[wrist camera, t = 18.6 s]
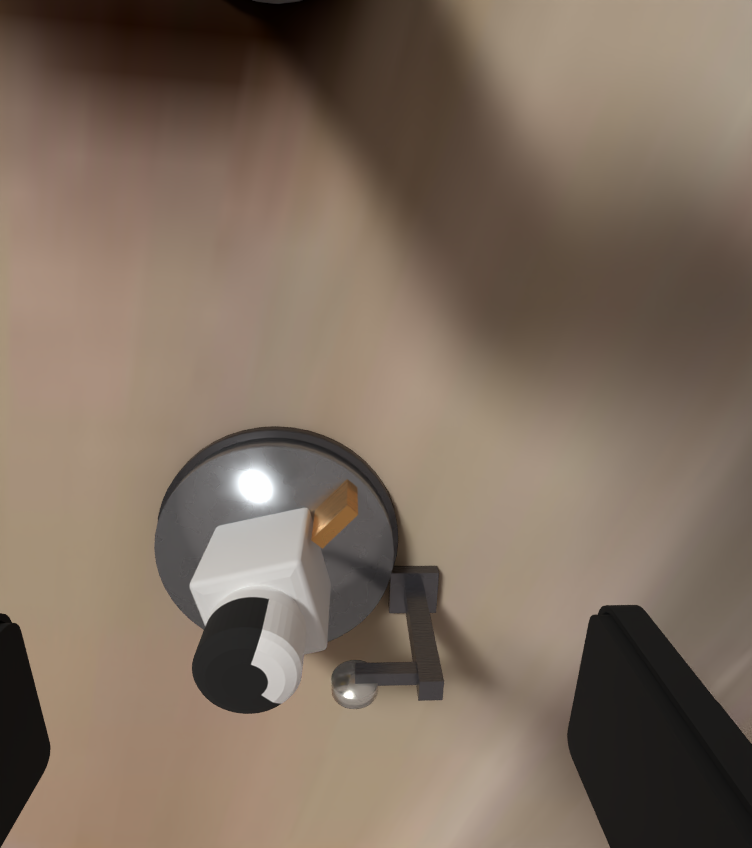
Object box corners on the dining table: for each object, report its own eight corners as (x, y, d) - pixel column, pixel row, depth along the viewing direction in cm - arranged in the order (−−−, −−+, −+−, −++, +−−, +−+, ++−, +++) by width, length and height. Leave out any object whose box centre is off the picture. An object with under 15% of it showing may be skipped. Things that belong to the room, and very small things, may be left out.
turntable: (291, 667, 46) (282, 728, 40) (116, 549, 41) (79, 599, 35) (438, 536, 42) (451, 582, 36) (265, 388, 37) (249, 415, 31)
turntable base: (147, 425, 39) (142, 430, 38) (401, 427, 40) (402, 431, 39) (174, 632, 45) (171, 640, 44) (393, 628, 46) (394, 636, 45)
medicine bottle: (243, 602, 41) (202, 741, 29) (214, 524, 38) (158, 644, 27) (332, 583, 40) (324, 717, 29) (309, 504, 38) (291, 616, 27)
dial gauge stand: (335, 566, 44) (330, 670, 33) (437, 565, 44) (463, 667, 33) (335, 606, 45) (330, 717, 34) (434, 604, 45) (459, 714, 35)
